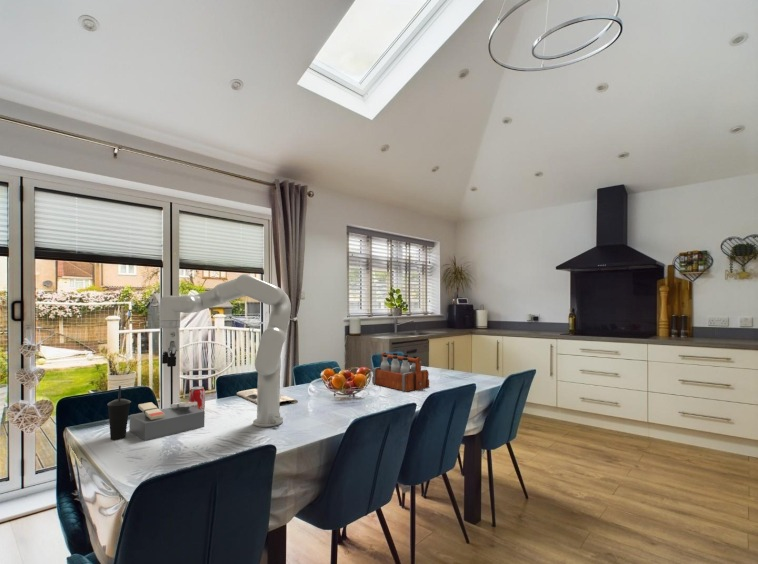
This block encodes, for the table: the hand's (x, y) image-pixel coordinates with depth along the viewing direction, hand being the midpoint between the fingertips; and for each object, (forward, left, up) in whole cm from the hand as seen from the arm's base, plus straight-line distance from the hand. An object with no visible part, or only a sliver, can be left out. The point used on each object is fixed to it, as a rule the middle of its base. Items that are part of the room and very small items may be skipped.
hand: (168, 364), depth 172 cm
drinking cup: (-1, +18, -26) cm, 32 cm away
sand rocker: (-3, +8, -17) cm, 19 cm away
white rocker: (-3, -5, -17) cm, 18 cm away
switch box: (0, +1, -26) cm, 26 cm away
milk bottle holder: (-22, -131, -26) cm, 136 cm away
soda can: (+11, -17, -26) cm, 33 cm away
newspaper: (+10, -56, -27) cm, 63 cm away
